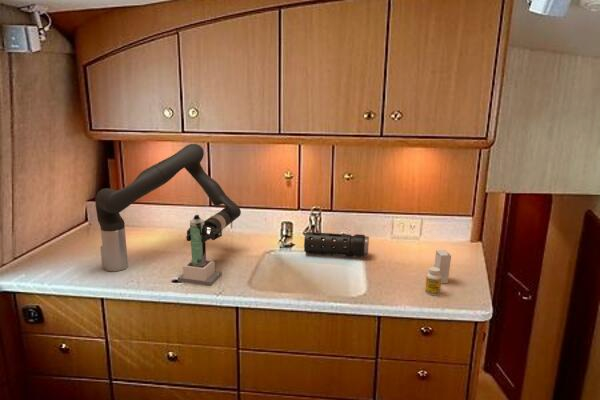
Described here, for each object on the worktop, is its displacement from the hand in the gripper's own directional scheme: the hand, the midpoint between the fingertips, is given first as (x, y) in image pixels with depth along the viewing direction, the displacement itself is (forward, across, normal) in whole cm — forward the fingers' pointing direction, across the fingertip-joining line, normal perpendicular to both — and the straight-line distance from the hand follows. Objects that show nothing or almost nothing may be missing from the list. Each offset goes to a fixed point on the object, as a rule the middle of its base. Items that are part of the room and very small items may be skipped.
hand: (195, 239), depth 188 cm
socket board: (-3, 0, +17) cm, 17 cm away
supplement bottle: (-15, +89, +18) cm, 92 cm away
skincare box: (-27, +92, +18) cm, 98 cm away
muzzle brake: (-42, +47, +18) cm, 66 cm away
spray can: (-3, 0, +11) cm, 11 cm away
